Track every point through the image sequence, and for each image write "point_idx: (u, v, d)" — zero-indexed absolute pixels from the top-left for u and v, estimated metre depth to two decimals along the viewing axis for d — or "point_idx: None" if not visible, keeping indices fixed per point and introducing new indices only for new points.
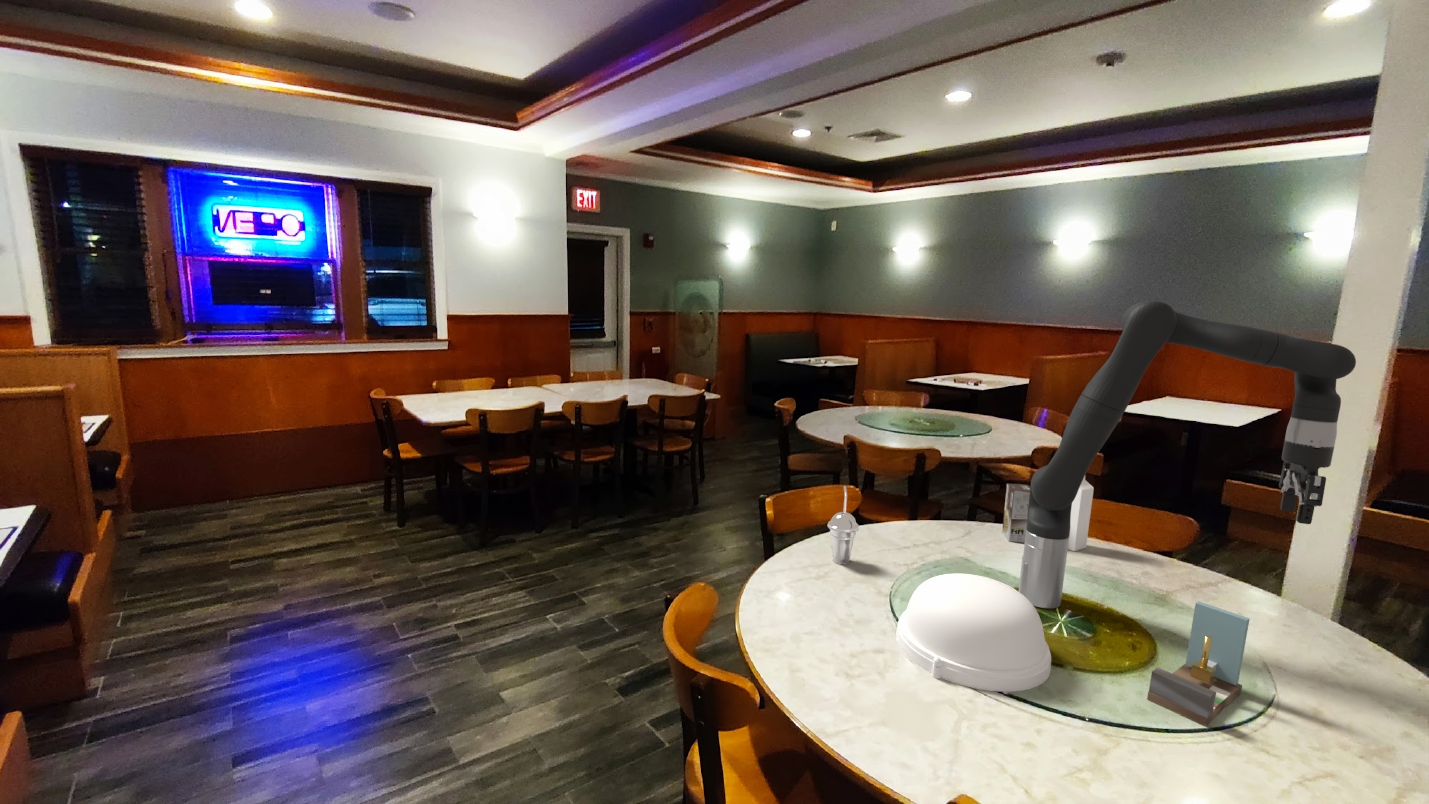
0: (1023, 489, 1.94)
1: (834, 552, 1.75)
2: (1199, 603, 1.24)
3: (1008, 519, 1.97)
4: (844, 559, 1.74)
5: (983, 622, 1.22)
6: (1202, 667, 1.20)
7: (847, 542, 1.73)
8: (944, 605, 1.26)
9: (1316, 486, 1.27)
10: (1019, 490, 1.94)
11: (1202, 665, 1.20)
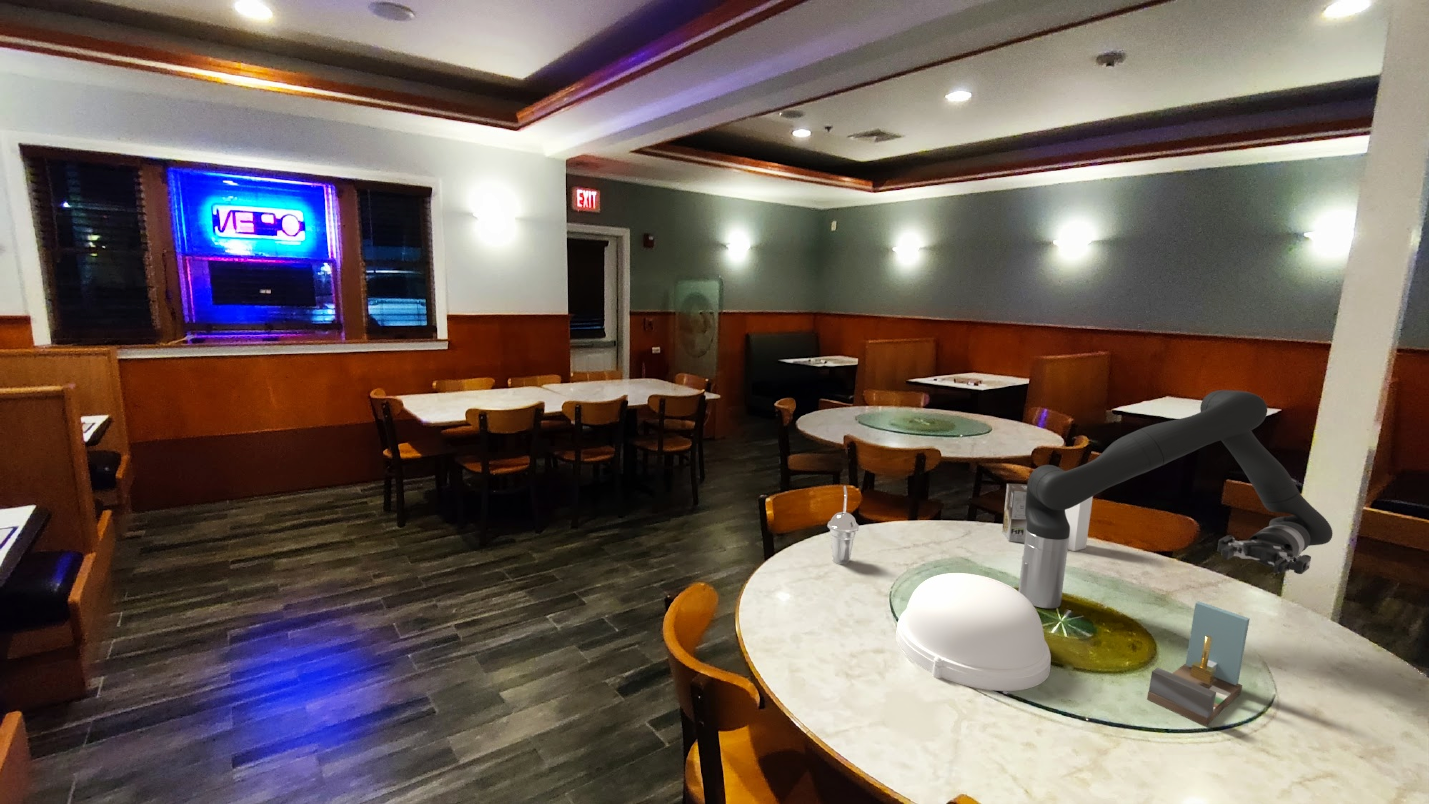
0: (1023, 489, 1.94)
1: (834, 552, 1.75)
2: (1199, 603, 1.24)
3: (1008, 519, 1.97)
4: (844, 559, 1.74)
5: (983, 621, 1.22)
6: (1202, 667, 1.20)
7: (847, 542, 1.73)
8: (944, 605, 1.27)
9: None
10: (1019, 490, 1.94)
11: (1202, 665, 1.20)
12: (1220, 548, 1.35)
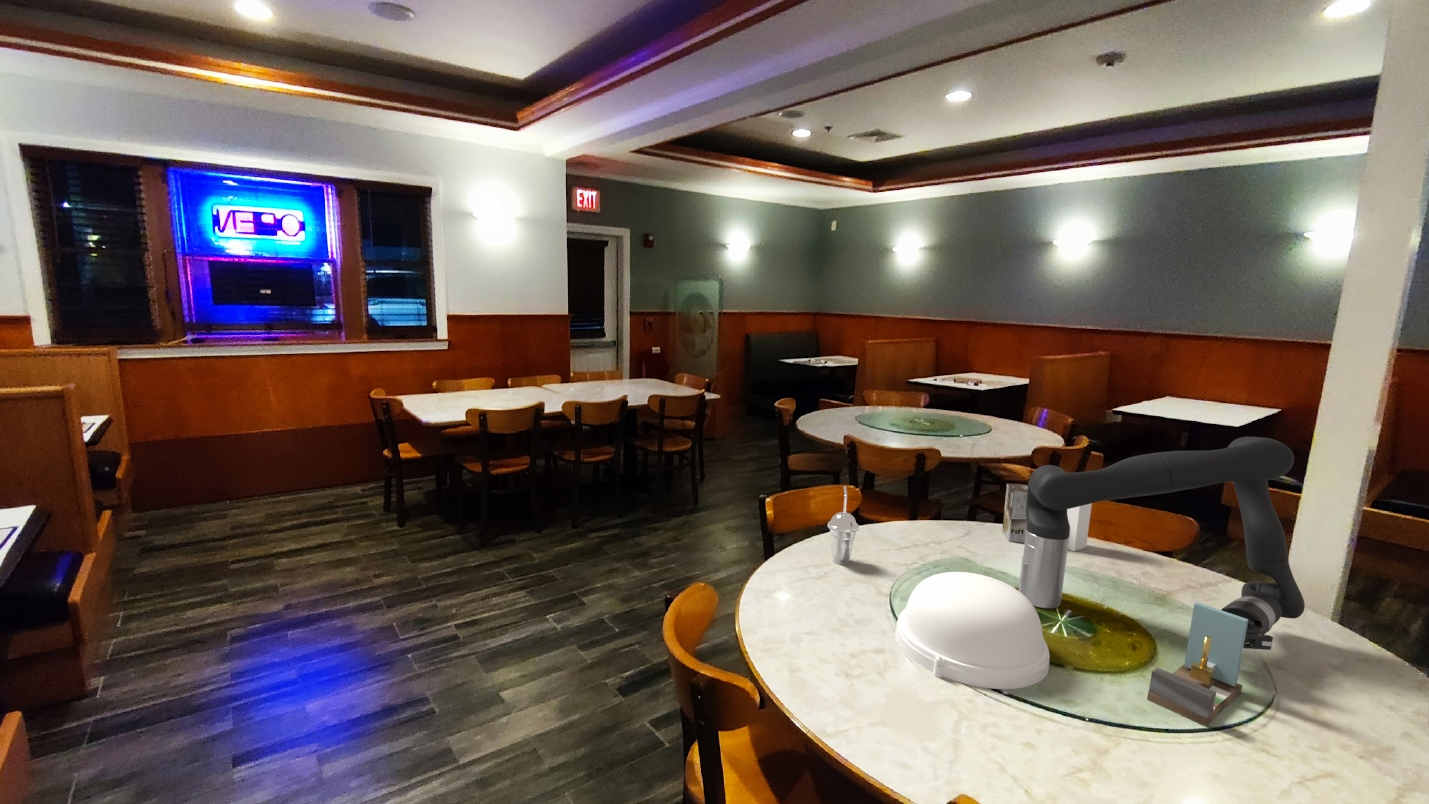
0: (1023, 489, 1.94)
1: (834, 552, 1.75)
2: (1198, 604, 1.24)
3: (1008, 519, 1.97)
4: (844, 559, 1.74)
5: (984, 620, 1.22)
6: (1202, 667, 1.20)
7: (847, 542, 1.73)
8: (944, 604, 1.27)
9: None
10: (1019, 490, 1.94)
11: (1202, 665, 1.20)
12: None
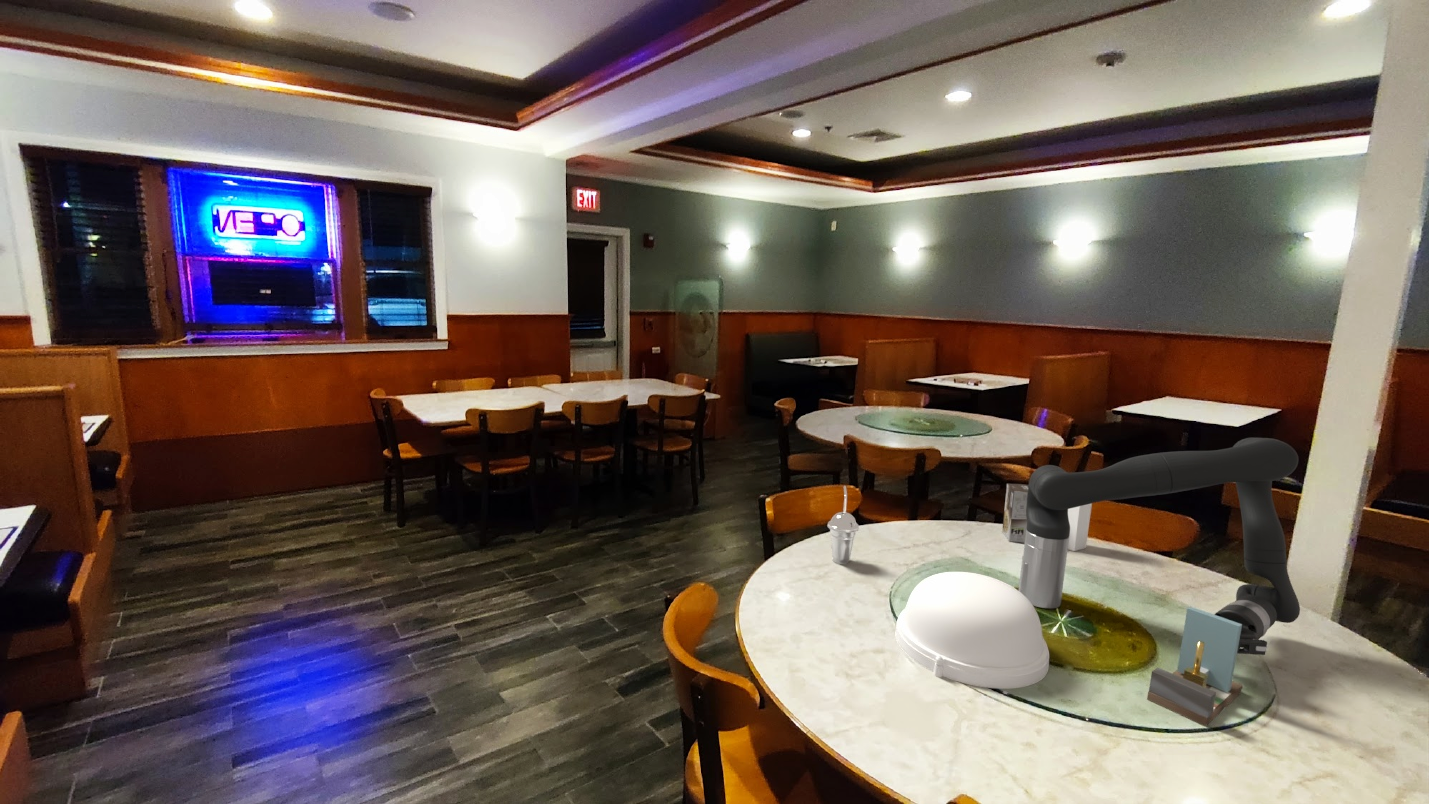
0: (1023, 489, 1.94)
1: (834, 552, 1.75)
2: (1191, 608, 1.22)
3: (1008, 519, 1.97)
4: (844, 559, 1.74)
5: (984, 620, 1.22)
6: (1195, 673, 1.18)
7: (847, 542, 1.73)
8: (944, 604, 1.27)
9: None
10: (1019, 490, 1.94)
11: (1195, 671, 1.18)
12: None
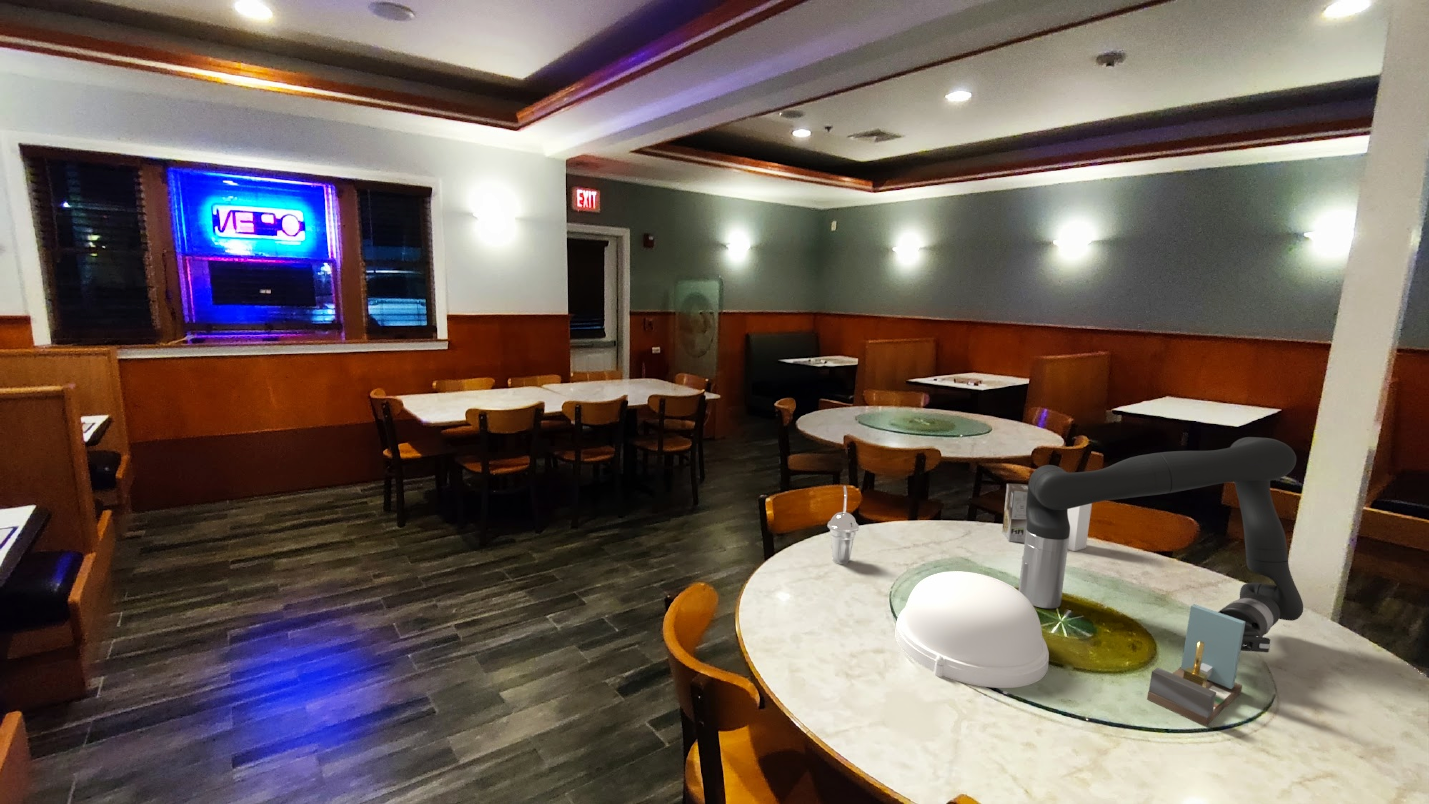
0: (1023, 489, 1.94)
1: (834, 552, 1.75)
2: (1194, 606, 1.23)
3: (1008, 519, 1.97)
4: (844, 559, 1.74)
5: (984, 619, 1.23)
6: (1195, 673, 1.18)
7: (847, 542, 1.73)
8: (945, 603, 1.27)
9: (1257, 645, 1.22)
10: (1019, 490, 1.94)
11: (1194, 671, 1.18)
12: None
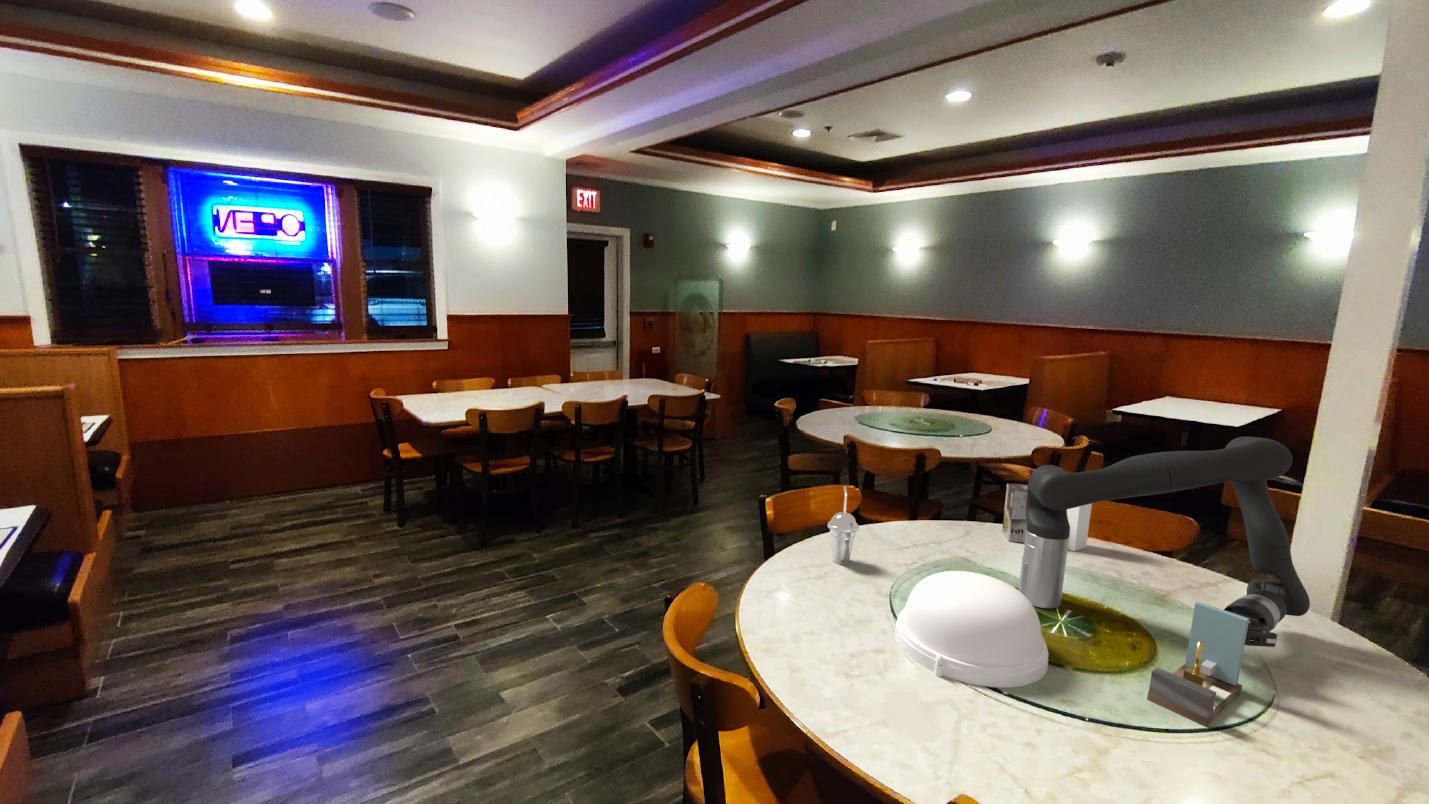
0: (1023, 489, 1.94)
1: (834, 552, 1.75)
2: (1199, 603, 1.24)
3: (1008, 519, 1.97)
4: (844, 559, 1.74)
5: (984, 619, 1.23)
6: (1195, 673, 1.18)
7: (847, 542, 1.73)
8: (945, 603, 1.27)
9: (1264, 640, 1.24)
10: (1019, 490, 1.94)
11: (1194, 671, 1.18)
12: None
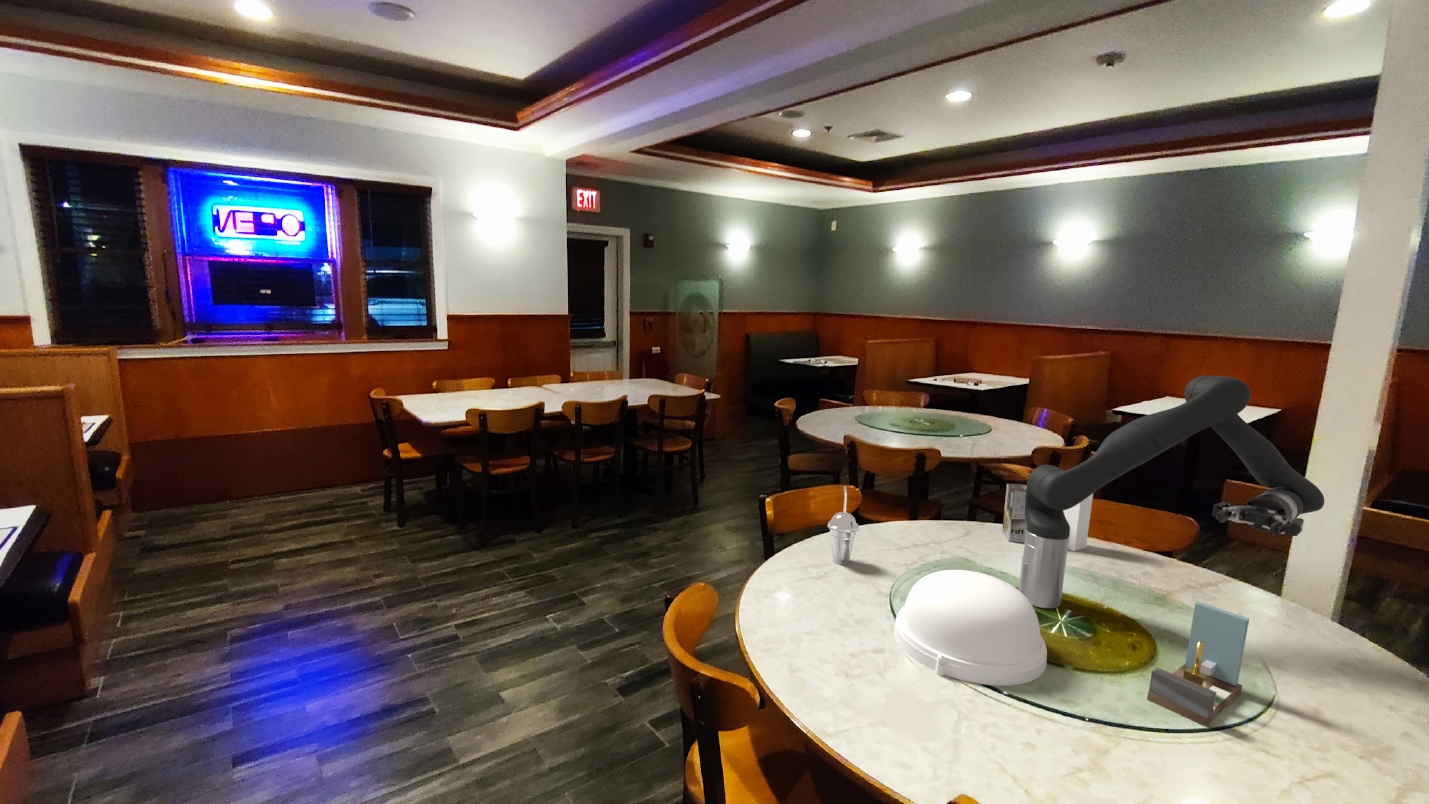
0: (1023, 489, 1.94)
1: (834, 552, 1.75)
2: (1199, 603, 1.24)
3: (1008, 519, 1.97)
4: (844, 559, 1.74)
5: (985, 618, 1.23)
6: (1195, 673, 1.18)
7: (847, 542, 1.73)
8: (945, 602, 1.28)
9: None
10: (1019, 490, 1.94)
11: (1194, 671, 1.18)
12: (1215, 513, 1.40)
